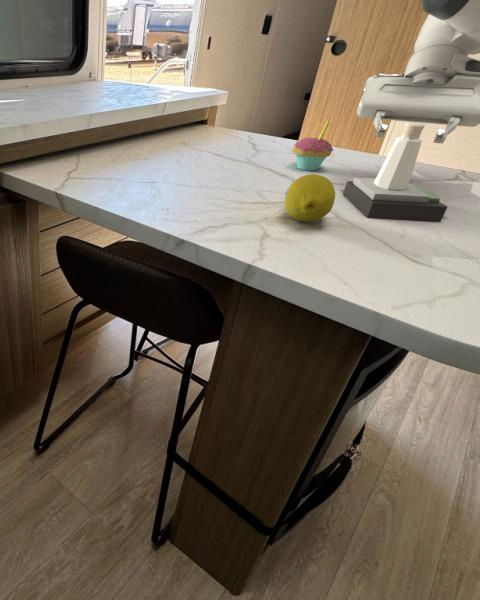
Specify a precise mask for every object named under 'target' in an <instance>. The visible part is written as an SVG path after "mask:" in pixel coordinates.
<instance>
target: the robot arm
mask: <svg viewBox="0 0 480 600" xmlns="http://www.w3.org/2000/svg"><path fill="white" fill-rule="evenodd" d="M421 5H422V11H423V12H424V13H426V14H428V15H427V16H426V19H425V20H424V22H423V24H422V26H421V28H420V30H419V32H418V34H417V37H416V39H415V40H416V41H415V43H414V46H413V54H411V56H410V57H409V60H408V62H407V64H406V67H405V70H404V73H383V72H381V73H376V75H371V76H370V77H368V78H367V79H366V80H365V82H364V85H363V94H362V96H361V98H360V101H359V103H358V106H357V108H356V114H357V116H358V117H359V118H360V119H361V118H362V119H373V126H374V128H375V130H376V131H375V134H374V137H375V138H384V137H385V135H386V131H387V129H388V124H384V122H383V121H397V122H407V123H411V122H413V123H421V124H432V125H446V126H445V129H438V131H437V132H436V134H435V135H434V140H433V141H432V143H434V144H444V142H445V141H446V139H447V137H448V135H449V134H451V133H452V132H453V131H455V130H456V128H457V127H467V128H475V127H477V126H479V125H480V60H479V59H476V58H472V57H469V56H470V55H471V56H473V55H477V54H480V0H421Z"/></svg>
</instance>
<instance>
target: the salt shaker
mask: <svg viewBox="0 0 480 600" xmlns="http://www.w3.org/2000/svg"><path fill="white" fill-rule="evenodd" d="M425 128H426V125H425V123H419V122H407V123H406V122H405V125H404V128H403V131H402V134H401V136H398V137H396V139H395V141H394V142H393V144H392V147H391V148H390V149H389V152H388V154H387V156H386V158H385V160H384V161H383V164H382V166H381V168H380V169H379V171H378V174H377V175H376V177H375V178H376V179H375V181H374V184H375V185H376V186H377V187H380V188H384V189H387V190H398V191H401V190H405V189H407V188H408V185H409V183H410V182H411V179H412V175H413V172H414V168H415V165H416V163H417V158H418V156H419V153H420V149H421V145H422V142H423V141H422V139H420V137H421V135H422V133H423V130H424V129H425Z"/></svg>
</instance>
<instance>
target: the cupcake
mask: <svg viewBox="0 0 480 600" xmlns="http://www.w3.org/2000/svg"><path fill="white" fill-rule="evenodd" d="M331 119H332V117H331V116H330V117H329V118H328V119H327V120H326V122H325V124H324V126H323V128H322V131H321V133H320V135H319V137H304V138H301V139H300V140H298V141H296V142H295V144H294V146H293V148H292V149H291V151H292V153H294V154H295V158H296V168H298V170H302V171H308V172H309V171H311V172H314V171H317V170H319V168H320V167H321V165H322V164H323V162H324V161H325V160H326V158H328V157H330V156H331V155H332V152H333V151H334V148H333V146H332V144H331V143H330V142H329V141H328V140H325V138H323V137H324V135H325V133H326V132H327V131H326V130H327V129H328V127H329V124H330V123H331Z"/></svg>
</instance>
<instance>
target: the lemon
mask: <svg viewBox="0 0 480 600" xmlns="http://www.w3.org/2000/svg"><path fill="white" fill-rule="evenodd" d="M335 200H336V190H335V187H334V184H333V183H332V181H331V180H330V179H329V178H328V177H325V176H324V175H321V174H317V173H309V174H305V175H301V176H299V177H298V178H296V180H294V181H293V182H292V183H291V184H290V185H289V186H288V188H287V189H286V191H285V193H284V209H285V211H286V212H287V214H288V216H289V217H291V218H293V219H294V220H297V221H299V222H304V223H305V222H306V223H307V222H316V221H319V220H321V219H322V218H325V217H326V216H327V215H328V214H329V213H330V212H331V210H332V209H333V206H334V204H335Z"/></svg>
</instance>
